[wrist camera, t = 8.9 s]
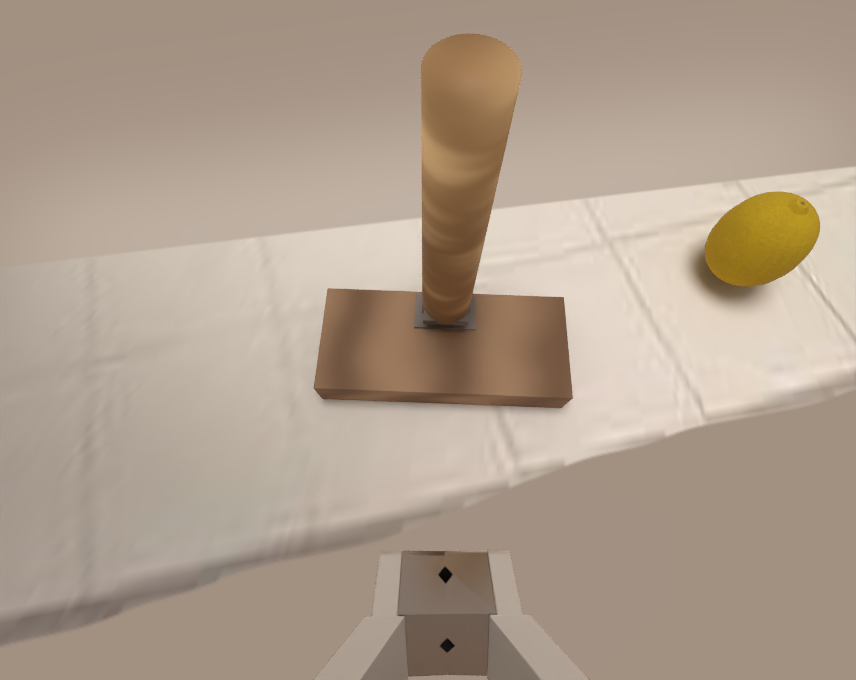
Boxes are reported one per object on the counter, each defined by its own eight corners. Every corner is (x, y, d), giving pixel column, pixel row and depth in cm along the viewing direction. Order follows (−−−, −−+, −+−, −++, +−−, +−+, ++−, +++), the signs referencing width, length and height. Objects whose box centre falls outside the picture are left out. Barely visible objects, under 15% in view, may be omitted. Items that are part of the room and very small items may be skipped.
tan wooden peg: (421, 329, 29) (418, 103, 13) (423, 288, 30) (423, 32, 14) (468, 331, 29) (524, 107, 13) (468, 289, 30) (520, 35, 14)
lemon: (682, 237, 35) (751, 160, 28) (754, 248, 35) (844, 174, 27) (684, 298, 33) (760, 233, 26) (761, 311, 33) (860, 248, 25)
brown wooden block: (322, 398, 30) (313, 387, 27) (334, 305, 32) (327, 287, 30) (560, 407, 30) (573, 397, 27) (553, 313, 32) (564, 296, 30)
